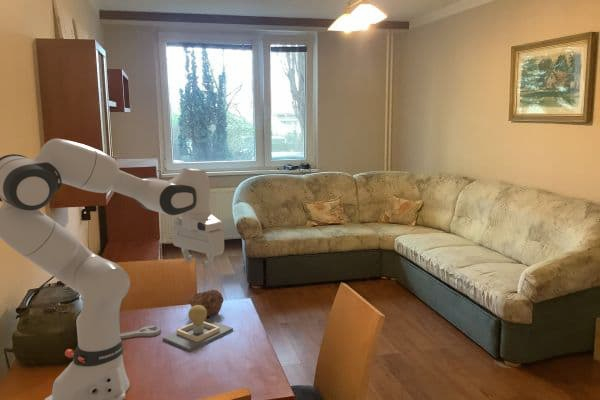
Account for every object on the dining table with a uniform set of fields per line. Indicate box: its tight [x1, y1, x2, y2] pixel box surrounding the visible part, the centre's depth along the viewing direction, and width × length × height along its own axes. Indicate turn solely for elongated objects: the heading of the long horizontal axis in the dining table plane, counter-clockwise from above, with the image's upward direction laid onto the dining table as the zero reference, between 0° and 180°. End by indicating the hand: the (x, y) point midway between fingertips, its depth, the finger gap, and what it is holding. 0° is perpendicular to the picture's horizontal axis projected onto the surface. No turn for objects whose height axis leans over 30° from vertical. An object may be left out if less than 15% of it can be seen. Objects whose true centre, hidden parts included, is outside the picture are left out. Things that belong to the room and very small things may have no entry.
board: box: [162, 317, 234, 352], centre depth 180 cm, size 20×14×2 cm
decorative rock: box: [188, 289, 224, 318], centre depth 197 cm, size 13×11×10 cm
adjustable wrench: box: [120, 325, 162, 340], centre depth 180 cm, size 25×6×2 cm, turn 109°
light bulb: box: [188, 305, 208, 334], centre depth 179 cm, size 6×6×10 cm
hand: (198, 264), depth 159 cm, fingers open, 8 cm apart
